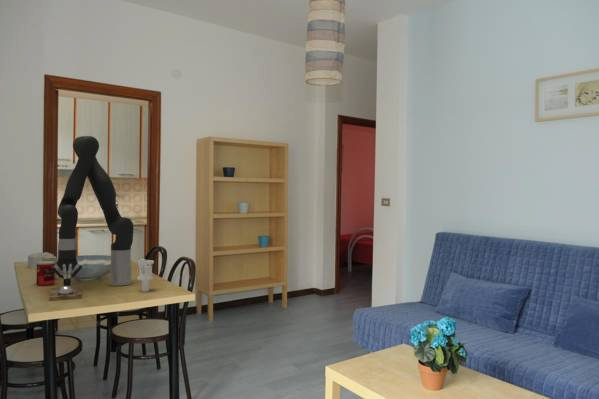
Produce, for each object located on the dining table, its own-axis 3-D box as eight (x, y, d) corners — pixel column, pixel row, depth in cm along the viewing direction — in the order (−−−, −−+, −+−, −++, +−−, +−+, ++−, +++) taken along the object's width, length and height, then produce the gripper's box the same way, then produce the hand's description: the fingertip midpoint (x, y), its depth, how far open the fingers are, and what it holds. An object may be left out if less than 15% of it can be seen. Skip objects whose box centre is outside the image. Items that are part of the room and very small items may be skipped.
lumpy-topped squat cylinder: (26, 267, 273) (26, 252, 273) (50, 265, 283) (50, 251, 283) (31, 269, 266) (32, 254, 266) (56, 267, 275) (56, 252, 275)
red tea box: (59, 279, 237) (59, 256, 237) (43, 281, 231) (43, 257, 231) (54, 278, 241) (55, 255, 241) (38, 279, 235) (39, 256, 235)
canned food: (40, 283, 227) (41, 260, 227) (57, 283, 228) (57, 261, 228) (33, 286, 220) (33, 263, 220) (50, 286, 221) (50, 263, 220)
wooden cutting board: (80, 289, 215) (80, 286, 214) (81, 298, 197) (81, 294, 197) (51, 291, 209) (51, 288, 209) (49, 300, 191) (49, 297, 191)
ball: (71, 286, 197) (72, 298, 197) (71, 283, 201) (72, 294, 202) (58, 288, 194) (59, 299, 195) (58, 285, 199) (59, 296, 199)
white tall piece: (134, 291, 213) (134, 258, 213) (146, 288, 219) (147, 257, 219) (143, 293, 209) (144, 260, 209) (156, 290, 215) (156, 258, 215)
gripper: (83, 246, 215) (82, 284, 215) (50, 248, 209) (50, 286, 209) (83, 248, 208) (83, 287, 208) (50, 250, 202) (50, 289, 202)
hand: (67, 286), depth 209 cm, fingers closed
